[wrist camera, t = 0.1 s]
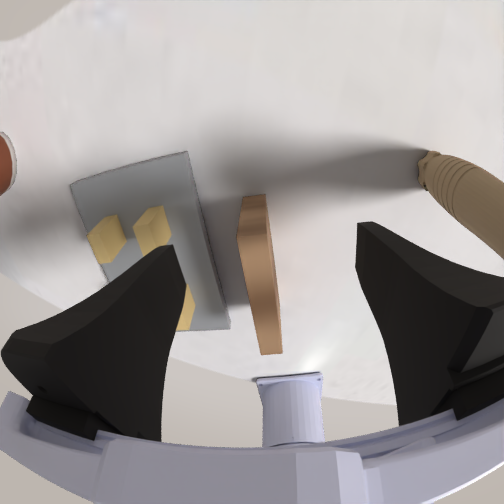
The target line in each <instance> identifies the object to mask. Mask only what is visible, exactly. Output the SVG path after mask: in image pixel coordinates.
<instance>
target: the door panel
mask: <svg viewBox="0 0 504 504" xmlns="http://www.w3.org/2000/svg"><path fill="white" fill-rule="evenodd" d="M236 238H237V243H238V248H239V253H240V258H241V262H242V267H243V272H244V277H245V282H246V287H247V292H248V296H249V301H250V306H251V311H252V315H253V320H254V325H255V329H256V334H257V339H258V343H259V348H260V353H261V355H270V354H281V353H282V335H281V319H280V303H279V294H278V286H277V278H276V270H275V262H274V254H273V247H272V239H271V232H270V224H269V217H268V210H267V203H266V195H265V194H263V195H255V196H248V197H243V200H242V206H241V212H240V218H239V224H238V230H237V236H236Z"/></svg>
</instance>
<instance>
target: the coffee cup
mask: <svg viewBox="0 0 504 504" xmlns="http://www.w3.org/2000/svg"><path fill="white" fill-rule="evenodd" d="M16 173H17V159H16V155H15V150H14V147H13V145H12V142H11V140H10V138H9V137H8V136H7V135H6V134H5V133H4V132H0V196H1V195H2V194H3V193H4V192H6V191H7V190H9V189H10V188H11V186H12V185H13V183H14V181H15V177H16Z"/></svg>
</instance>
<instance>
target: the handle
mask: <svg viewBox="0 0 504 504" xmlns="http://www.w3.org/2000/svg"><path fill="white" fill-rule="evenodd" d="M418 167H419V177H418V181H419V183H420V184H421V186H422V187H423V188H424V189H425V190H426V191H429V193H430V194H431V195H432V196H433V198H434V199H435V200H436V201H437V202H438V203H439V204H440V205H441V206H442V207H443V208H444V209H445V210H446V211H447V212H448V213H449V214H450V215H452V216H453V217H454V218H455V219H456V220H457V221H458V222H459V223H460V224H462V225H463V226H464V227H466V228H467V229H468V230H469V231H471V232H472V233H473V234H475V235H476V236H477V237H478V238H480V239H481V240H482V241H483V242H484V243H486V244H487V245H488V246H489V247H490V248H492V249H493V250H494V251H495V252H496V253H497V254H498V255H499V256H501V257H502V258H503V259H504V183H503V182H502V181H501V180H499V179H498V178H496V177H495V176H493V175H492V174H490V173H489V172H487V171H486V170H484V169H482V168H480V167H478V166H477V165H475V164H473V163H471V162H468V161H465V160H463V159H460V158H457V157H454V156H450V155H441V154H440V153H439V152H436V151H429V152H428V153H427V155H426V156H425V158H423V159H421V160H419V162H418Z"/></svg>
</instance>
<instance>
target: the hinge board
mask: <svg viewBox="0 0 504 504" xmlns="http://www.w3.org/2000/svg"><path fill="white" fill-rule="evenodd" d="M70 187H71V190H72V193H73V195H74V198H75V201H76V204H77V207H78V210H79V212H80V215H81V218H82V220H83V223H84V225H85V228H86V230H87V233H88V234H87V235H86V236H87V238H88V240H89V243H90V245H91V247H92V250H93V252H94V254H95V256H96V259H97V261H98V263H99V264H101V265H102V267H103V269H104V272H105V274H106V276H107V278H108V280H109V282H112V281H113V280H114V279H115V278H117V277H118V276H119V275H121V274H122V273H123V272H125V271H126V270H127V269H129V268H130V267H131V266H132V265H134V264H135V263H136V262H137V261H139V260H140V259H141V258H143V257H144V256H145V255H146V254H148V253H149V252H151V251H152V250H153V249H155V248H157V247H159V246H163V245H171V244H173V246H174V249H175V252H176V255H177V258H178V261H179V264H180V267H181V270H182V273H183V276H184V279H185V282H186V285H187V286H186V293H185V300H184V305H183V309H182V312H181V316H180V319H179V322H178V325H177V329H176V332H181V331H206V330H225V329H230V324H231V321H230V317H229V314H228V310H227V307H226V303H225V300H224V296H223V292H222V289H221V285H220V281H219V278H218V274H217V270H216V266H215V263H214V259H213V255H212V251H211V247H210V243H209V240H208V236H207V232H206V228H205V224H204V220H203V216H202V212H201V207H200V203H199V199H198V195H197V191H196V186H195V182H194V178H193V173H192V169H191V165H190V160H189V156H188V151H186V152H181V153H177V154H172V155H168V156H163V157H159V158H155V159H151V160H147V161H143V162H139V163H135V164H131V165H128V166H124V167H121V168H117V169H114V170H110V171H107V172H104V173H100V174H97V175H94V176H91V177H88V178H85V179H82V180H79V181H76V182H75V183H73V184H71V185H70Z"/></svg>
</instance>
